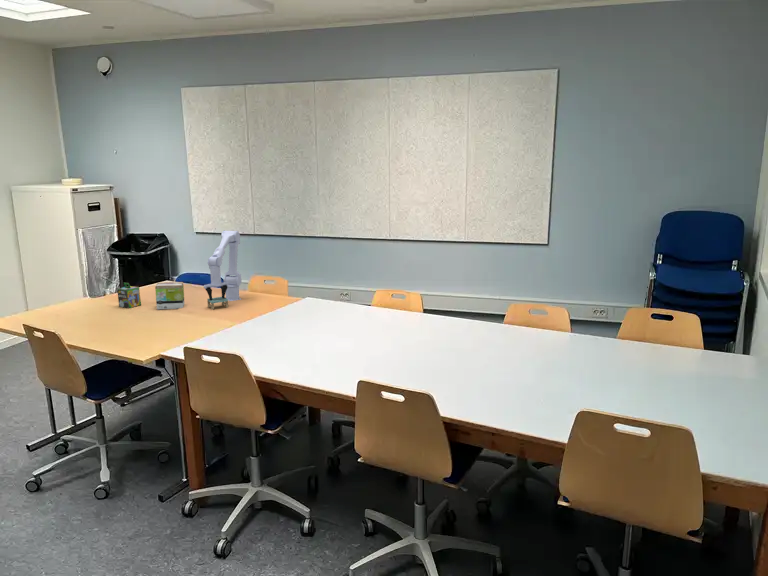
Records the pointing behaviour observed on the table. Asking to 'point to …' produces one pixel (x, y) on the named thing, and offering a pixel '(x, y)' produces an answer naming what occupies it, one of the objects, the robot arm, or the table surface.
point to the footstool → (217, 301)
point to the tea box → (169, 295)
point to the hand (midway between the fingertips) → (217, 298)
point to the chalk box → (128, 296)
